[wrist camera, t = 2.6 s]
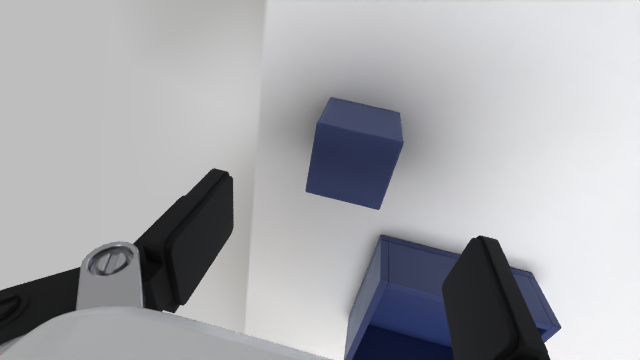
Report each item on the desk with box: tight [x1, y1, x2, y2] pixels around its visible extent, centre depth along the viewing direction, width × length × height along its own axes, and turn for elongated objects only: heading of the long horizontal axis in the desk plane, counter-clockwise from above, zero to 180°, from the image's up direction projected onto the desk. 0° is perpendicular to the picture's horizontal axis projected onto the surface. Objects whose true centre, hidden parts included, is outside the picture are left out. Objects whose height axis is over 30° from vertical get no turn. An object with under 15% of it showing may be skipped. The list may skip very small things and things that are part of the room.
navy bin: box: [344, 235, 561, 360], centre depth 25 cm, size 12×12×5 cm
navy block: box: [306, 98, 404, 210], centre depth 18 cm, size 4×4×4 cm
